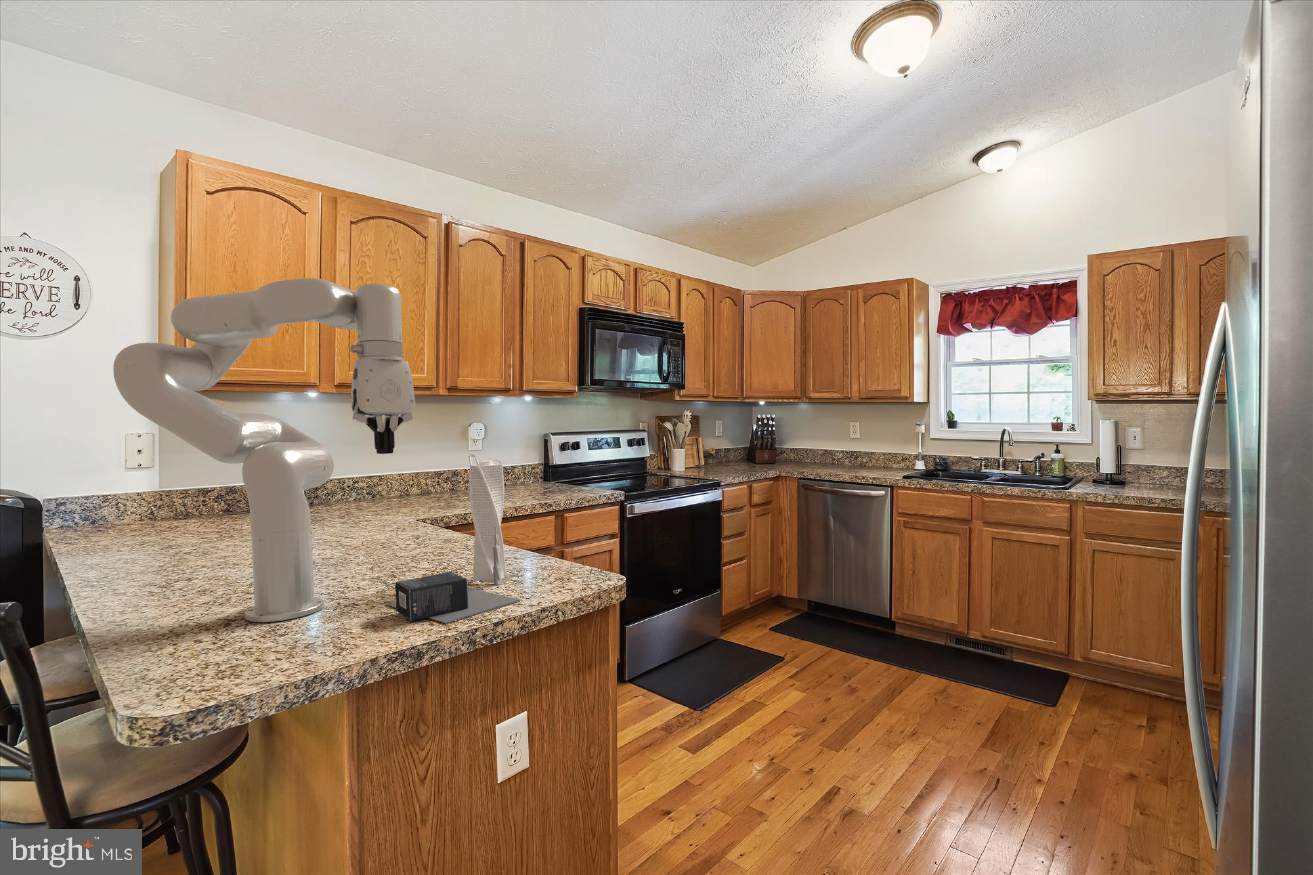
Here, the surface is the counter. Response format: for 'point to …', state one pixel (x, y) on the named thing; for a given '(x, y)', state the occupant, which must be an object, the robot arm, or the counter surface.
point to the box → (431, 595)
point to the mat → (474, 605)
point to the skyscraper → (487, 520)
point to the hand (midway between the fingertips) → (385, 453)
